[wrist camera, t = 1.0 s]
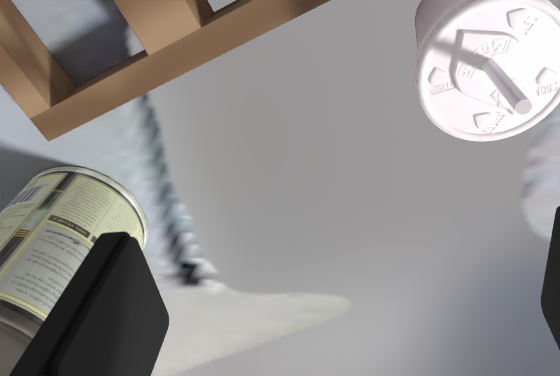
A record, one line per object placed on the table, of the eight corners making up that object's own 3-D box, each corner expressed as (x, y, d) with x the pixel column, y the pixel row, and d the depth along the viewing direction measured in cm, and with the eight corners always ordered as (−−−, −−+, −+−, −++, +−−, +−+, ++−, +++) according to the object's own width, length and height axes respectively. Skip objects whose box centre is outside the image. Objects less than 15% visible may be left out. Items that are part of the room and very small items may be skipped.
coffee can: (114, 286, 43) (32, 443, 31) (4, 224, 40) (-134, 371, 28) (173, 215, 38) (102, 370, 26) (52, 139, 35) (-89, 274, 23)
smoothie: (466, -72, 26) (581, -26, 14) (528, 20, 28) (672, 127, 16) (369, 13, 28) (396, 111, 17) (432, 90, 31) (496, 225, 19)
